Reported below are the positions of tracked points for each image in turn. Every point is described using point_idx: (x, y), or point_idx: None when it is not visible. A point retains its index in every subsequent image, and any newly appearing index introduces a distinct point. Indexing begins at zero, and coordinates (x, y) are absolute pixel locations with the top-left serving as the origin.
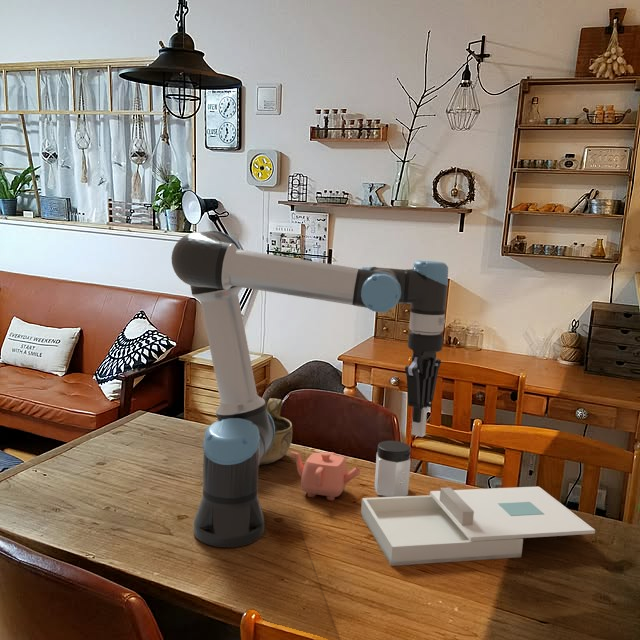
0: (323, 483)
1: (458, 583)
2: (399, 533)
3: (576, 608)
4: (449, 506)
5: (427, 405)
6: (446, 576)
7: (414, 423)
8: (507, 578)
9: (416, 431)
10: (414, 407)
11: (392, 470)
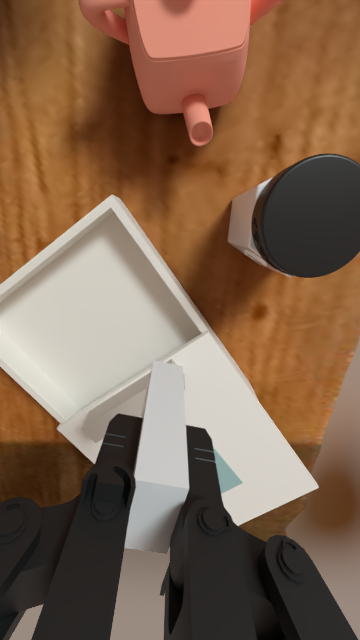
0: (129, 45)
1: (4, 401)
2: (75, 298)
3: (43, 506)
4: (132, 388)
5: (166, 574)
6: (10, 385)
7: (145, 404)
8: (58, 447)
9: (146, 392)
10: (70, 509)
11: (243, 234)
